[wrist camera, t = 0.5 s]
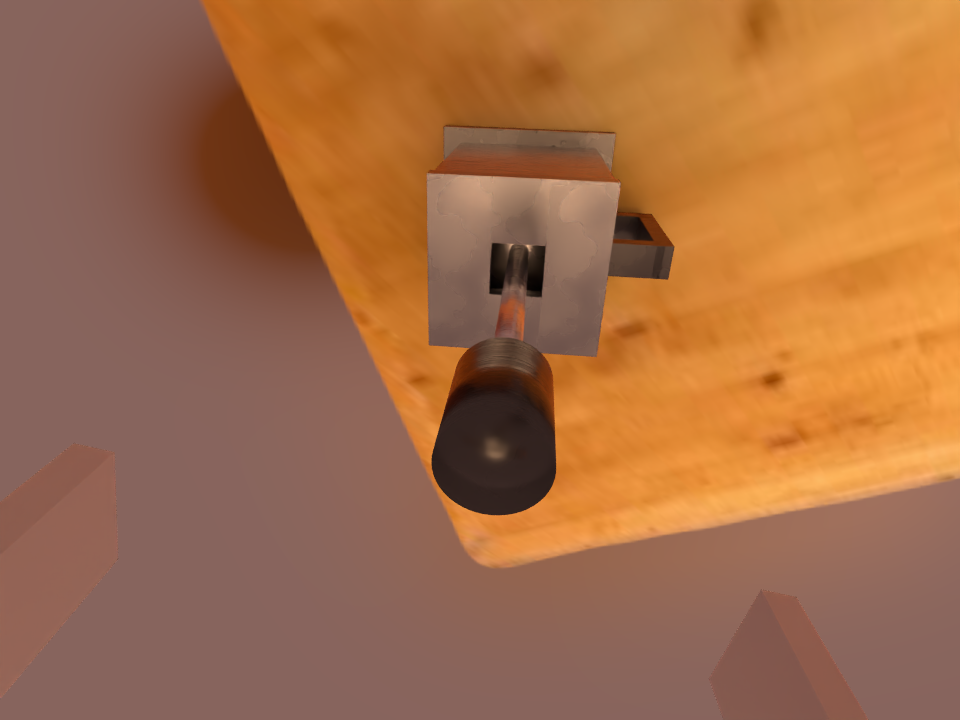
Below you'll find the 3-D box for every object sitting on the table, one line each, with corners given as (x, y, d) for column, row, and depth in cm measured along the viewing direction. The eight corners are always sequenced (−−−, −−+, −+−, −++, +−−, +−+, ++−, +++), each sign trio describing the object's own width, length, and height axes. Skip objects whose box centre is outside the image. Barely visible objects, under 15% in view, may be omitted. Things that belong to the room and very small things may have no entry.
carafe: (657, 134, 41) (705, 165, 29) (631, 294, 46) (662, 376, 34) (446, 125, 42) (407, 152, 30) (445, 282, 47) (412, 358, 35)
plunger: (590, 187, 34) (653, 357, 15) (575, 310, 37) (611, 576, 18) (458, 180, 34) (350, 336, 15) (456, 302, 38) (368, 553, 19)
